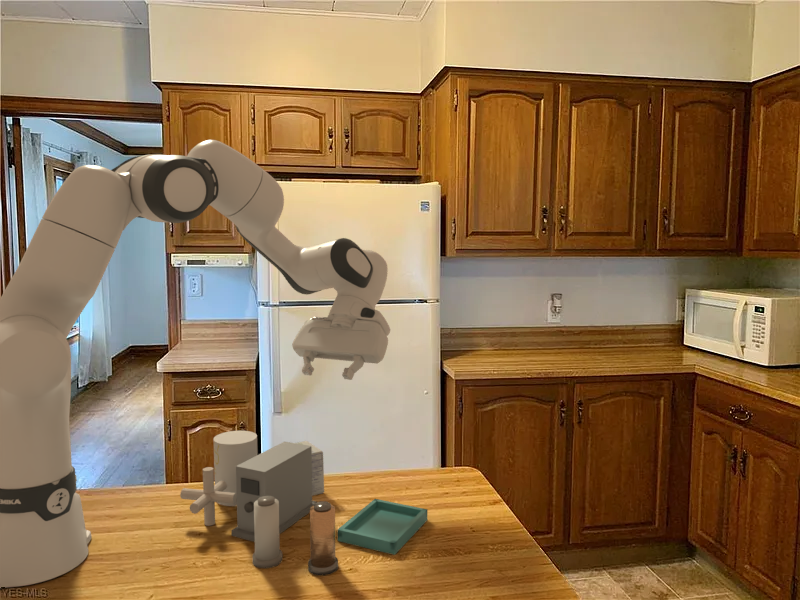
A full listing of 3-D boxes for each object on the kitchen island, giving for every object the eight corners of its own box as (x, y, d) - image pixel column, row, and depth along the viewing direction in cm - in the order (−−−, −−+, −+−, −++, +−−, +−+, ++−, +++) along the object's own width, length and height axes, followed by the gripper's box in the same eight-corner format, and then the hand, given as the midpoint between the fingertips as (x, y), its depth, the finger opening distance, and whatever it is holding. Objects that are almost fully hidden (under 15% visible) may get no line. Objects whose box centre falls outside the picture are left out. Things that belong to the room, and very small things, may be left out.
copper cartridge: (302, 571, 98) (301, 508, 97) (318, 557, 102) (317, 496, 101) (328, 578, 96) (327, 513, 95) (343, 563, 100) (343, 501, 99)
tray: (337, 540, 107) (337, 529, 107) (374, 508, 119) (374, 498, 119) (394, 554, 103) (394, 542, 102) (427, 520, 115) (427, 509, 115)
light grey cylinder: (226, 487, 129) (224, 429, 128) (264, 490, 128) (263, 431, 126) (207, 504, 121) (205, 442, 120) (248, 507, 120) (246, 445, 119)
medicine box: (324, 493, 126) (324, 451, 125) (303, 498, 124) (303, 455, 123) (308, 480, 133) (307, 439, 132) (288, 484, 131) (287, 443, 130)
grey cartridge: (246, 564, 100) (244, 502, 99) (264, 550, 104) (263, 491, 103) (270, 571, 98) (269, 507, 97) (288, 557, 102) (287, 496, 101)
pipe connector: (222, 539, 108) (220, 482, 106) (168, 533, 110) (166, 477, 108) (248, 513, 117) (247, 461, 116) (198, 508, 119) (196, 456, 118)
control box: (231, 535, 109) (229, 467, 107) (286, 499, 123) (285, 439, 122) (265, 544, 106) (263, 474, 105) (317, 506, 120) (316, 444, 119)
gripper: (301, 308, 136) (275, 363, 129) (387, 312, 127) (364, 371, 120) (314, 325, 141) (290, 379, 133) (397, 330, 132) (376, 388, 124)
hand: (326, 375), depth 126 cm, fingers open, 8 cm apart
